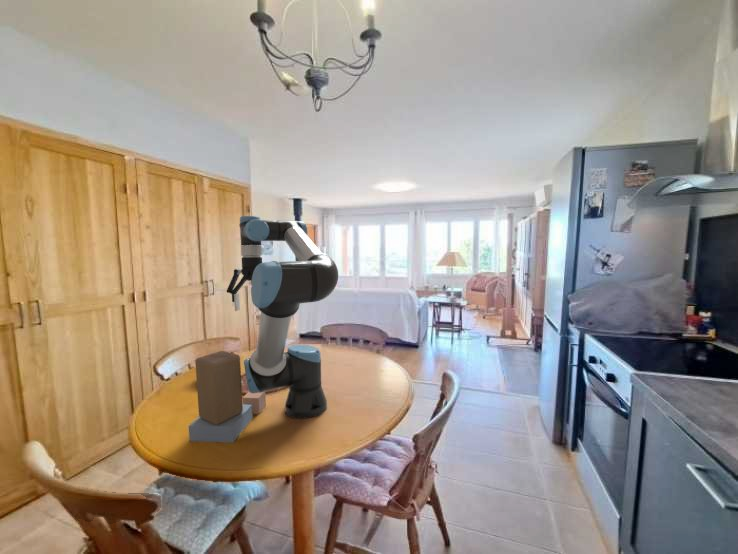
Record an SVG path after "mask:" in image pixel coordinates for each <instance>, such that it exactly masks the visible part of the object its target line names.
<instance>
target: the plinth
mask: <svg viewBox="0 0 738 554" xmlns="http://www.w3.org/2000/svg"><path fill="white" fill-rule="evenodd" d="M242 406H243V411H242V413H240V414H238V415H236V416H234V417H232V418H231V419H229V420H227V421H225V422H223V423H221V424H219V425H214V424H212V423H210V422H208V421H206V420H204V419H202V418H200V417H199V416H198V417H196V419H195V420H193V421H192V422H191V423H190V424H188V438H189V440H188V441H189V442H205V443H230V444H231V443H234V442H235V441H236V439H237V438H238V437H239V436H240V435H241V433H242V432H243V431H244V430H245V428H246V427H247V426H248V425H249V423H250V422H251V421H252V420H253V419H254V418H253V416H254V415H253V414H252V405H245V404H243V403H242Z"/></svg>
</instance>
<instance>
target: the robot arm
mask: <svg viewBox="0 0 738 554" xmlns="http://www.w3.org/2000/svg"><path fill="white" fill-rule="evenodd" d="M238 224H239V233H240V248H241V249H240V254H241V256H242V257H241V269H239V268H234V269H233V274H232V275H233V276H232V278H231V280H230V282H229V284H228V286H227V289H226V292H227V293H228V294H230V295H231V301H232V303H234V311H235V312H237V311H240V309H241V308H240V306H241V305H240V293H238V292H239V291H240V290H241V288H242V287H243V286H244V284H245V283H246V282H247V281H251V283H250V284H251V288H250V294H251V295H250V296H251V302H252V304H253V305H254V306H255V307H256V308H258V310H259V311H260V317H259V326H258V333H257V339H256V341H257V342H256V349H255V350H253V352H252V354H251V355H250V357H248V358H246V359H244V361H243V365H244V366H243V367H244V372H245V378H246V382H247V383H246V384H247V388H248V389H247V390H248V392H250V393H262V392H264V391H265V392H268V391H272V390H276V389H280V388H285V387H289V390H288V393H287V397H286V400H285V404H284V408H285V413H286V415H287V416H289V417H291V418H295V419H310V418H315V417H317V416H319V415H321V414H322V413H324V412H325V411H326V409H327V408H328V407H327V406H328V405H327V404H328V403H327V402H328V401H327V398H326V395H325V392H324V389H323V386H322V359H321V358H322V357H321V352H320V349H319V348H317V347H316V346H313V345H309V344H295V345H293V344H292V345H291V346H289V347H288V348H287V352H285V348H286V343H287V339H288V335H289V330H290V324H291V319H292V316H294V315H295V314H297V312H298V310H299V308H300V304H306V303H307V304H308V303H316V302H319V301H323V300H325V299H326V298H328V297H329V296H330V295H331V294H332V293H333V291H334V290H335V289H336V287H337V284H338V280H339V271H338V270H339V269H338V266H337V263H335V261H334V260H333V258H331V257H330V255H328V254H327V253H323V252H322V251H321V250H320V248H319V247H318V246H317V245H316V244H315V243H314V241H312V239H311V238H310V237H309V236H308V226H307V224H306V222H304V221H302V220H301V221H300V220H275V219H274V220H272V219H271V220H269V219H268V220H267V219H261V218H260V217H259V216H258V215H243V216H240V218H239V223H238ZM262 242H285V243H286V244H287V246H288V247H289V249H290V250H291V251H292V253H293V255H294V257H295V258H296V259H297V260H294V261H292V260H291V261H277V260H271V261H267V262H266V261H265V262H263V257H261V256H262V255H263V253H262ZM240 275H243V276H242V277H241V279H240V280H239V276H240ZM238 280H239V282H238V283H237V281H238Z"/></svg>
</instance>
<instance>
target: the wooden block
mask: <svg viewBox="0 0 738 554" xmlns="http://www.w3.org/2000/svg"><path fill="white" fill-rule="evenodd" d="M241 369H242V368H241V357H240V355H239V354H235V353H231V352H228V351H225V350H220V351H219V350H218V351H217V352H213V353H210V354H207V355H206V354H205V355H204V356H201V357H197V358H196V359H195V375H196V376H195V377H196V389H197V391H196V392H197V405H198V406H197V407H198V408H197V409H198V417H200V418H202V419H204V420H206V421H208V422H210V423H212V424H214V425H219V424H221V423H223V422H225V421H227V420H229V419H231V418H232V417H234V416H236V415H238V414H240V413H242V411H243V406H242V404H243V390H242V388H243V387H242V371H241Z"/></svg>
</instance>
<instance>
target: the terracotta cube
mask: <svg viewBox="0 0 738 554" xmlns="http://www.w3.org/2000/svg"><path fill="white" fill-rule="evenodd" d="M266 399H267V397H266V391H264V392H262V393H250V392H249V391H247V392H246V393H245V395H244V396H242V404H245V405H252V415H260V414H261V413H262V411H263V410H264V409H265V408H266V406H267V400H266Z"/></svg>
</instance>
